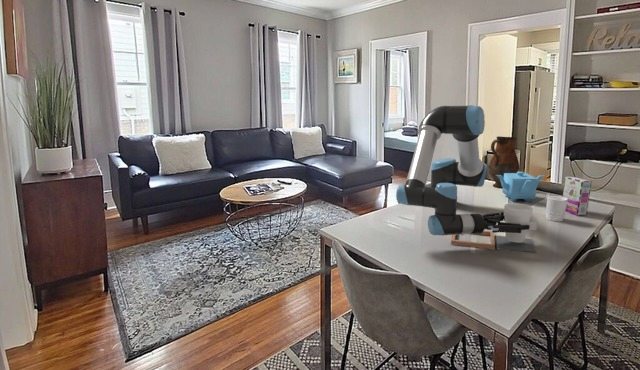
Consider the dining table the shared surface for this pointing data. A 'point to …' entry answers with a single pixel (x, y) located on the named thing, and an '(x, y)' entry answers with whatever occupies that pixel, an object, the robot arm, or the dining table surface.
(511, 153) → the pitcher
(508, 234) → the foam cup
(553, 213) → the white cup
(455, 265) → the dining table surface
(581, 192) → the candy bar box
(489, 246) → the terracotta frame
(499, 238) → the rubber mat
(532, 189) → the teakettle
